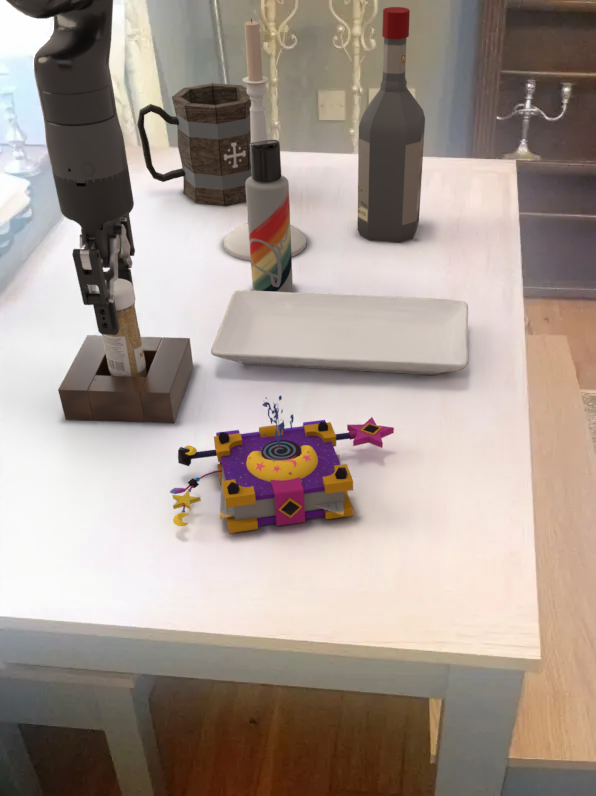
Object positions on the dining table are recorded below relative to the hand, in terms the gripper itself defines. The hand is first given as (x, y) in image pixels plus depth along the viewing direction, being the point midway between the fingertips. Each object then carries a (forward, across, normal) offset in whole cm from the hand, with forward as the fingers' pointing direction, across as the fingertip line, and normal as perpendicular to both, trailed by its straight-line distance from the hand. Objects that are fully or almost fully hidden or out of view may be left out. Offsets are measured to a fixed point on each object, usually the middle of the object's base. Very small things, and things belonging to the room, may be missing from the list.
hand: (117, 316), depth 102 cm
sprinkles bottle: (+10, 0, 0) cm, 10 cm away
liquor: (+10, -50, +30) cm, 59 cm away
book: (+10, +18, +21) cm, 29 cm away
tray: (+10, -12, +25) cm, 29 cm away
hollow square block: (+10, 0, 0) cm, 10 cm away
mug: (+10, -65, -2) cm, 66 cm away
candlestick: (+10, -44, +11) cm, 46 cm away
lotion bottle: (+10, -28, +14) cm, 33 cm away
